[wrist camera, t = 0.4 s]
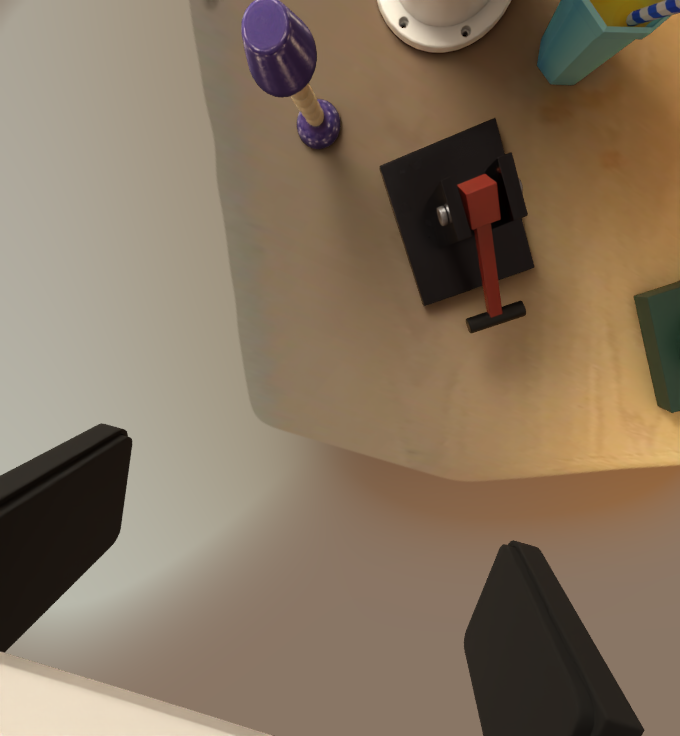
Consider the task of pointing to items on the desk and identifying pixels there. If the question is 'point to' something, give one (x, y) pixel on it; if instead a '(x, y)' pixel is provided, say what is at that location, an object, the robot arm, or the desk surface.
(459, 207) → the bracket
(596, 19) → the cup
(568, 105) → the desk surface
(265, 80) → the toy lamp
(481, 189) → the lever
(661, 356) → the control block
